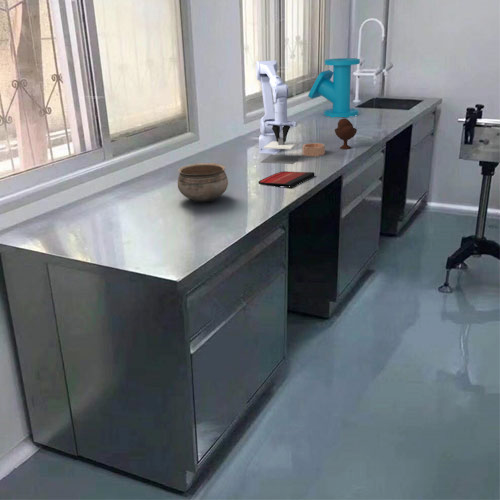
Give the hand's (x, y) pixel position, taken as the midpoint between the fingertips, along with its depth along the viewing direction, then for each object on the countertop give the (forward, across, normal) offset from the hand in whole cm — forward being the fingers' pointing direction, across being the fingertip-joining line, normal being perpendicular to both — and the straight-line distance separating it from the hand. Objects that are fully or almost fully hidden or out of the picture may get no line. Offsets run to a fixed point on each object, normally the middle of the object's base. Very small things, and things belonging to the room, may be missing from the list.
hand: (281, 141), depth 272 cm
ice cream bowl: (+9, +24, +31) cm, 40 cm away
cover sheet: (+2, 0, 0) cm, 2 cm away
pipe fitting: (+9, -4, +131) cm, 131 cm away
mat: (+9, 0, 0) cm, 9 cm away
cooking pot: (+9, -10, -67) cm, 68 cm away
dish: (+9, +12, +14) cm, 20 cm away
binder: (+10, +12, -33) cm, 36 cm away
